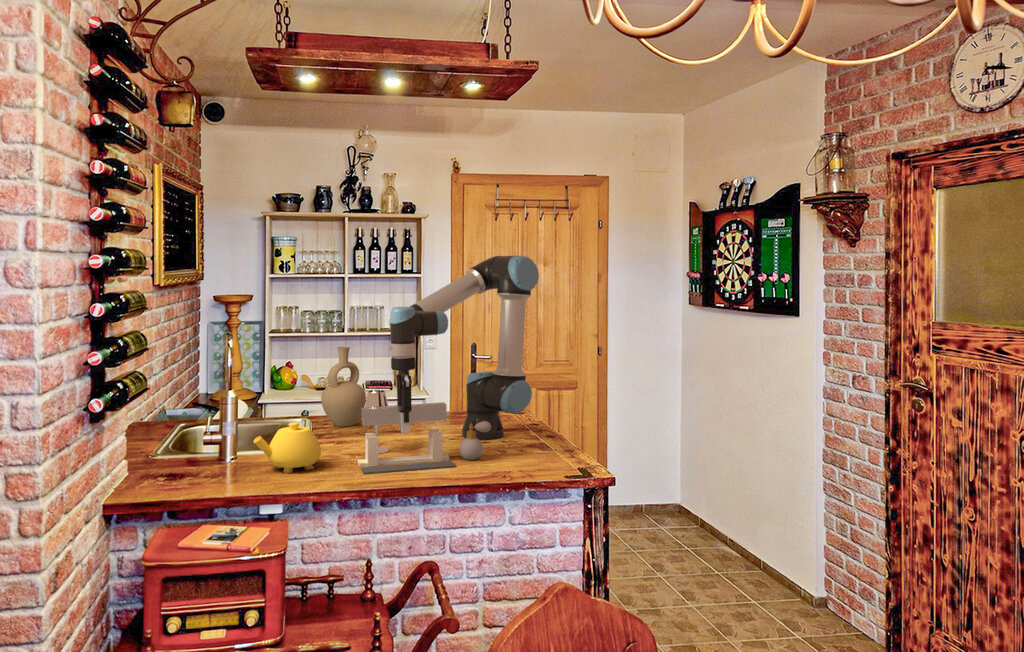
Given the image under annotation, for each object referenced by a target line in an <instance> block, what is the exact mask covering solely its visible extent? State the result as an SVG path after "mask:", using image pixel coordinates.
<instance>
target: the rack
mask: <svg viewBox="0 0 1024 652" xmlns="http://www.w3.org/2000/svg"><path fill="white" fill-rule="evenodd" d="M427 431H428V433H427V434H428V441H427V443H428V445H427V447H428V454H420V455H419V454H418V455H405V456H392V457H379V454H378V445H379V435H378V436H376V432H367V433H365V435H364V436H365V437H364V438H365V439H364V441H365V443H364V445H365V449H364V450H365V453H364V454H365V455H364V457H365V458H362V459H357V465H358V466H359V467H360V468H363V467H376V466H390V465H403V464H417V463H430V462H443V461H450V456H449V455H448V454H447V453H443V433H442V432H439V429H438V428H432V429H428V430H427Z"/></svg>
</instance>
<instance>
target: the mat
mask: <svg viewBox="0 0 1024 652" xmlns="http://www.w3.org/2000/svg"><path fill="white" fill-rule="evenodd" d="M448 468H449V469H452V468H457V465H456V464H455V463H454V462H453V461H452V460H445V461H438V462H432V461H431V462H418V463H404V464H391V465H378V466H371V467H368V466H364V467H360V470H361V472H362V474H363V475H373V474H386V473H400V472H411V471H424V470H436V469H437V470H438V469H448Z"/></svg>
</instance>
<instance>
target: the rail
mask: <svg viewBox="0 0 1024 652" xmlns="http://www.w3.org/2000/svg"><path fill="white" fill-rule="evenodd" d="M411 408H412V411H410V424H412V423H424V422H438V421H447V419H448V418H447V417H448V416H447V403H446V402H442V401H441V402H431V403H415V404H412V403H411ZM400 411H402V405H397V404H396V405H388V406H382V407H367V408H365V407H364V408H361V412H362V414H361V425H362V426H363V427H370V426H373V427H374V425H379V426H383V425H385V426H386V425H397V424H398V425H399V424H400V423H401V413H400Z"/></svg>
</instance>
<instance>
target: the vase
mask: <svg viewBox="0 0 1024 652" xmlns="http://www.w3.org/2000/svg"><path fill="white" fill-rule="evenodd" d="M350 348H351V347H349V346H338V347H337V353H338V363H336V364H334V365H333V366H332V367H331V368H330V370H329V371H328V374H327V375H328V376H327V381H328V384H329V385H328V386H326V387H325V389H323V391H322V393H321V397H320V401H321V405H322V409H323V411H324V413H325V415H326V417H327V418H328V420H329V421H330V423H331V424H333V426H335V427H338V428H347V427H348V428H349V427H351V426H355V425H356V424H357V423H358V422H359V420H360V419H361V418H362V412H361V408H365V404H366V399H367V396H366V392H365V389H364V388H363V387H362V386H361V385H360V384H358V381H359V379H360V369H359V367H358V366H357V365H356V364H355V363H354V362H351V361H349V354H350V353H349V352H350ZM346 368H347V369H349V371H350V376H349V379H348V381H344V380H342V381H338V375H339V372H340V371H342V370H343V369H346Z"/></svg>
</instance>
